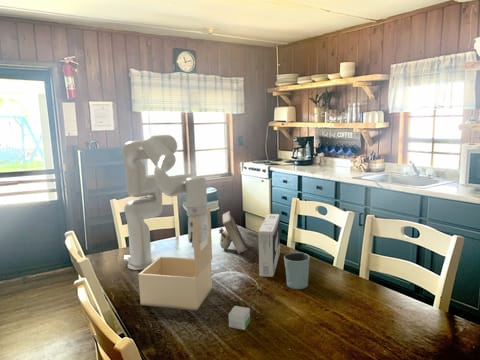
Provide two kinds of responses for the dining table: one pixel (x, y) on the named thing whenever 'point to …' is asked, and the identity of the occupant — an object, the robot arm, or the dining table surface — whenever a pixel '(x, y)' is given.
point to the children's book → (231, 234)
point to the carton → (174, 284)
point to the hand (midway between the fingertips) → (199, 258)
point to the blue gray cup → (297, 269)
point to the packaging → (269, 245)
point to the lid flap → (201, 246)
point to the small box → (239, 317)
